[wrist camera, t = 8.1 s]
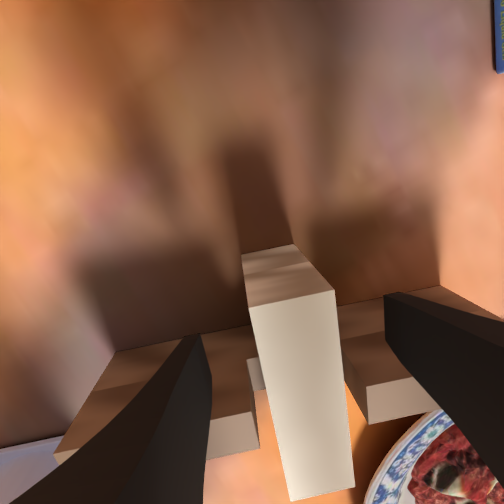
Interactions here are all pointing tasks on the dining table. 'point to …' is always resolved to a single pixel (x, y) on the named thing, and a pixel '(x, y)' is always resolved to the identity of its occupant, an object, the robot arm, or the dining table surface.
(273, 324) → the birch slotted plate
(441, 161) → the dining table surface
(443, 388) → the robot arm
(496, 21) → the medicine box
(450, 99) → the dining table surface
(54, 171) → the dining table surface
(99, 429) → the walnut slotted plate
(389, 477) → the ceramic plate
